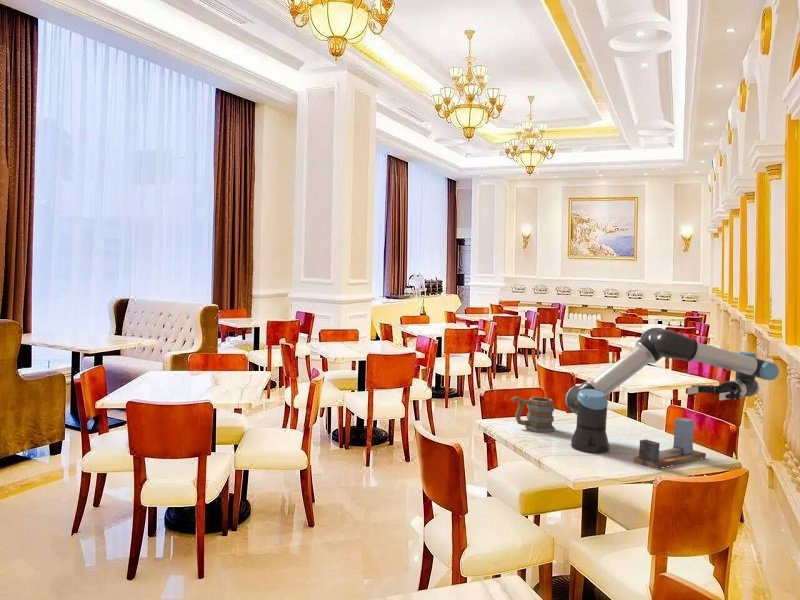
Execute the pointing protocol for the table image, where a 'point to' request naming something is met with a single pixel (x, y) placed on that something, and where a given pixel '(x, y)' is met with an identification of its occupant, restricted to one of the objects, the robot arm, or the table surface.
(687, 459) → the rail board
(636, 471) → the table surface
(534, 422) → the tankard
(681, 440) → the sleeve
